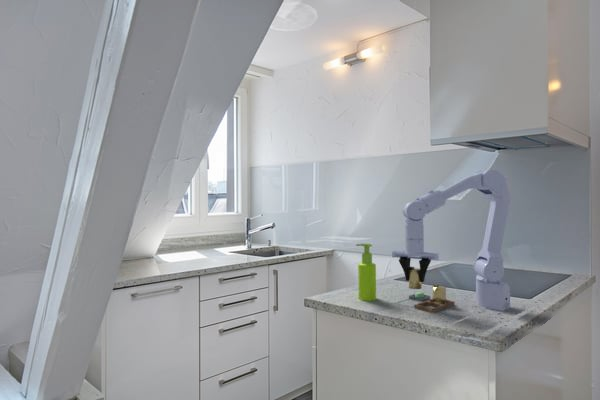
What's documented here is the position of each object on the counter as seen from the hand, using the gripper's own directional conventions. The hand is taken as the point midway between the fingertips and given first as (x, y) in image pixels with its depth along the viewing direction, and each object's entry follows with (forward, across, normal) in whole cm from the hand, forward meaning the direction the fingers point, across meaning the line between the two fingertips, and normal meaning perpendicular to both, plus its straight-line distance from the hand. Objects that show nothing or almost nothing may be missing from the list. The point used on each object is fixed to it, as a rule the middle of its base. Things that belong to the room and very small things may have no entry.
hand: (415, 280), depth 127 cm
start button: (+8, +1, -8) cm, 12 cm away
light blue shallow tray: (+9, +2, -1) cm, 9 cm away
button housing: (+9, +1, -8) cm, 12 cm away
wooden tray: (+9, -6, -1) cm, 11 cm away
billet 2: (+8, -7, -3) cm, 11 cm away
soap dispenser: (+9, +17, +1) cm, 19 cm away
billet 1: (+2, 0, 0) cm, 2 cm away
